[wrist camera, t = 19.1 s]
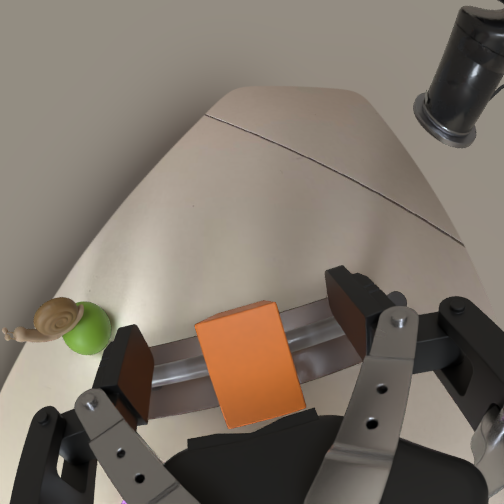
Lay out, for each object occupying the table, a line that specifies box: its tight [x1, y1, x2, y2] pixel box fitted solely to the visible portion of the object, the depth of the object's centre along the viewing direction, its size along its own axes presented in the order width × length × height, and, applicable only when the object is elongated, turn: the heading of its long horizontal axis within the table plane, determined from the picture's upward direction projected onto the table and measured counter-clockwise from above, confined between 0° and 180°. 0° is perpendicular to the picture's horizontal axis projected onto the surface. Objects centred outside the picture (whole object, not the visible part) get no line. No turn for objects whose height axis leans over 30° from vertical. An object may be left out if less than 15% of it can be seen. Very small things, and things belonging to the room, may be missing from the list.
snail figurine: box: [2, 297, 111, 355], centre depth 24 cm, size 5×6×12 cm
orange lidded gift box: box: [195, 300, 306, 429], centre depth 19 cm, size 4×6×11 cm
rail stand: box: [148, 291, 407, 420], centre depth 23 cm, size 24×7×11 cm, turn 106°
